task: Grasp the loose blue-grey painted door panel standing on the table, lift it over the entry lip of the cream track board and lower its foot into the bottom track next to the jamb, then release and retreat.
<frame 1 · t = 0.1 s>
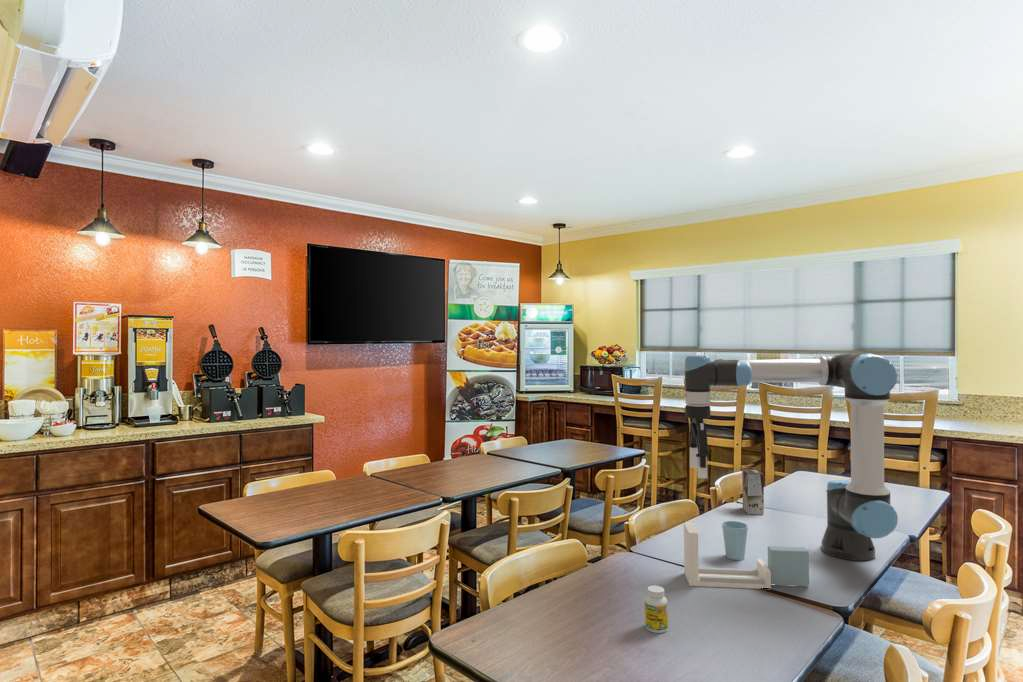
hand: (698, 472, 183), 28 cm above the table, fingers open, 13 cm apart
supplement bottle: (656, 629, 142), on the table
door panel: (788, 583, 167), on the table
track board: (726, 580, 169), on the table
coffee box: (753, 511, 235), on the table
cup: (735, 557, 187), on the table
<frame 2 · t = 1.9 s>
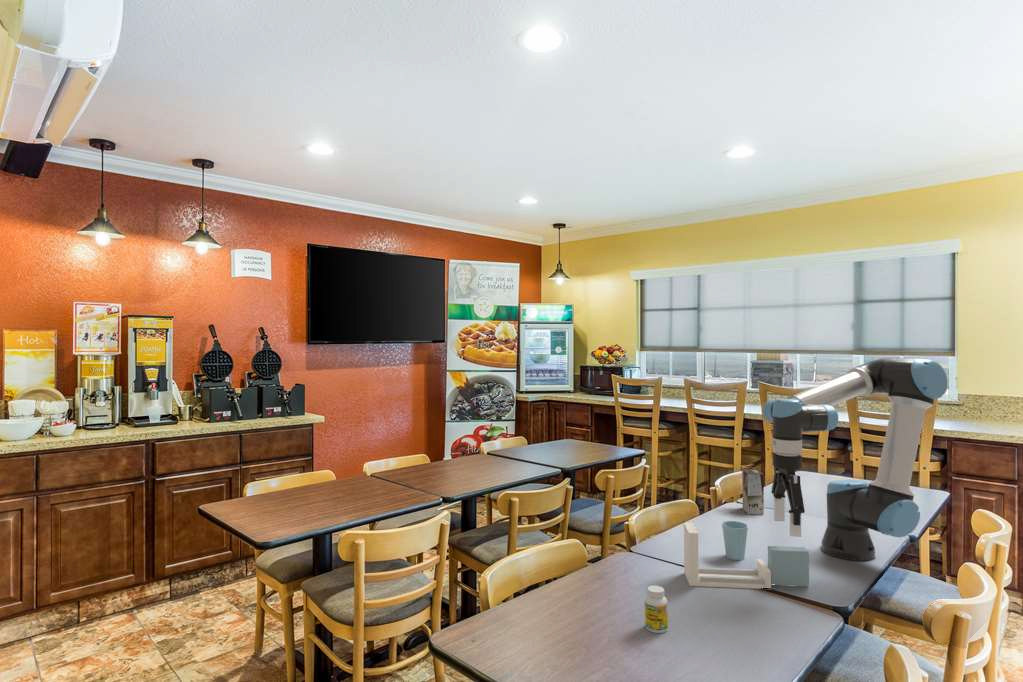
hand: (787, 528, 167), 16 cm above the table, fingers open, 13 cm apart
nothing on the table moved.
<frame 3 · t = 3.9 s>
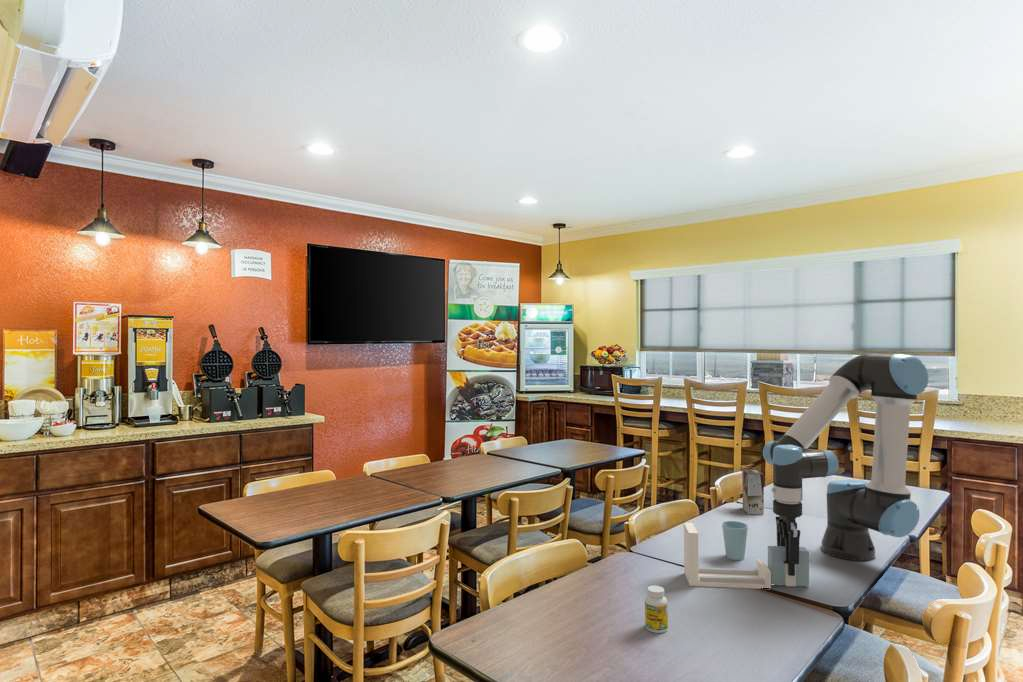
hand: (787, 582, 167), 0 cm above the table, fingers closed on door panel, 3 cm apart
door panel: (788, 583, 167), on the table, touching gripper
everything else where it was.
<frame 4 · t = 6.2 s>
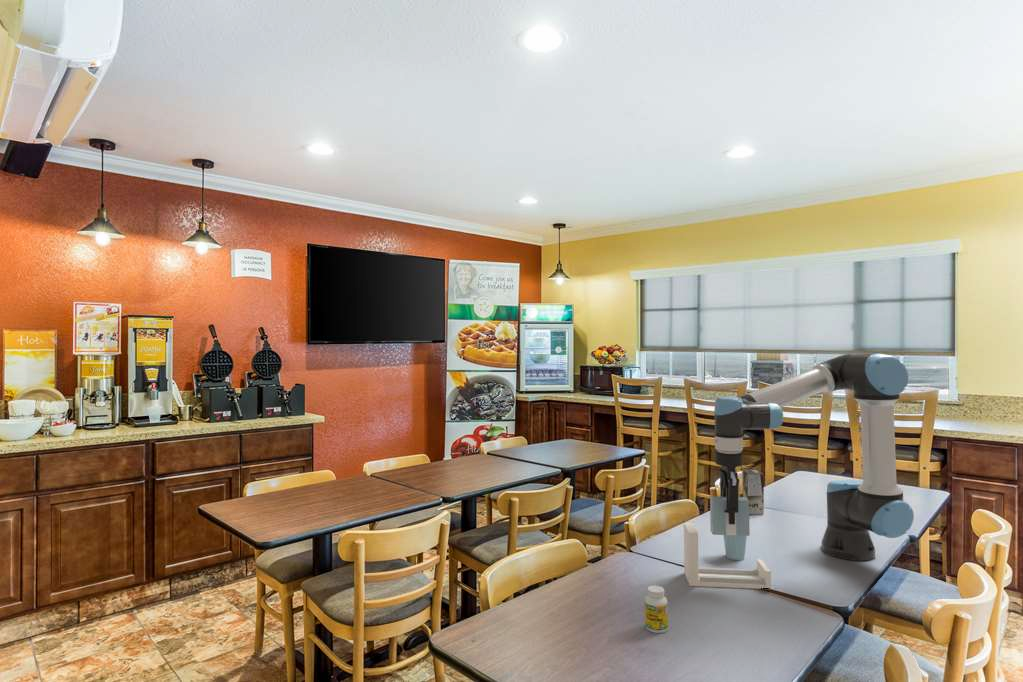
hand: (729, 532, 169), 14 cm above the table, fingers closed on door panel, 3 cm apart
door panel: (729, 533, 169), point 14 cm above the table, touching gripper
everything else where it was.
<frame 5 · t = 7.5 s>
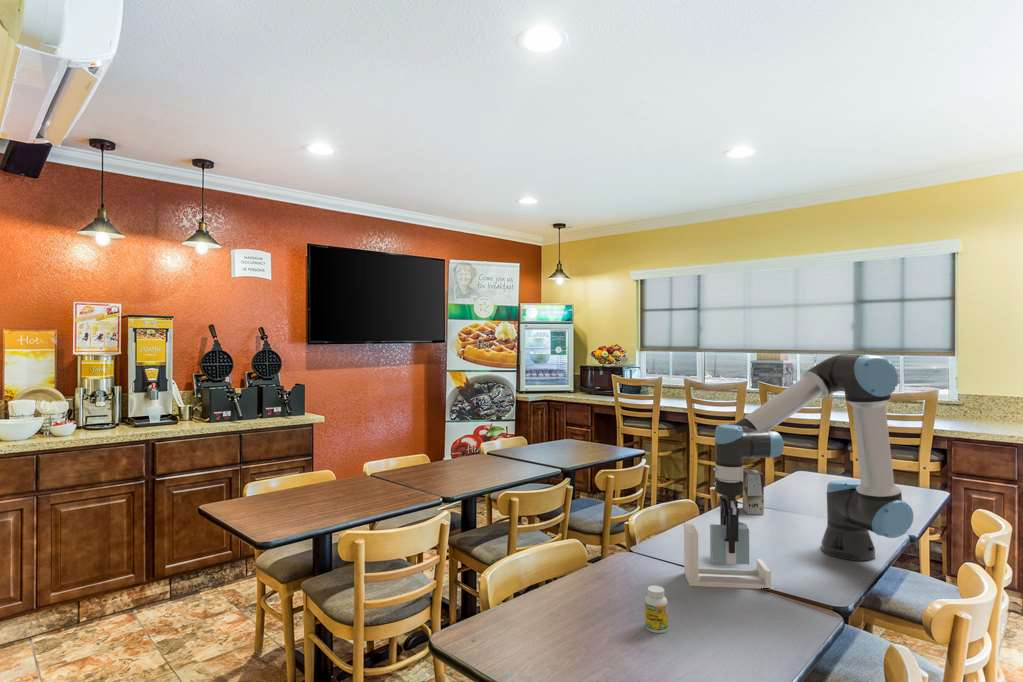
hand: (729, 560, 169), 6 cm above the table, fingers closed on door panel, 3 cm apart
door panel: (729, 561, 169), point 6 cm above the table, touching gripper
everything else where it was.
when the fingers open (3 cm above the table, at t = 8.7 s): door panel drops 2 cm, resting on track board.
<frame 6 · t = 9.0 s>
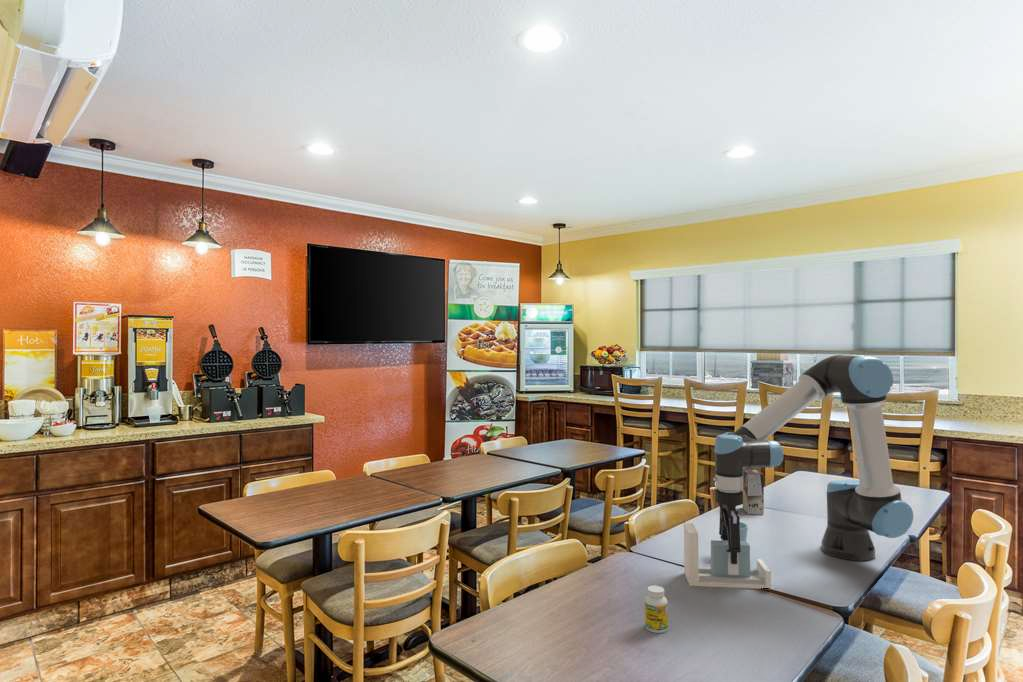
hand: (729, 568, 169), 4 cm above the table, fingers open, 8 cm apart
door panel: (730, 577, 169), point 1 cm above the table, touching track board
everything else where it was.
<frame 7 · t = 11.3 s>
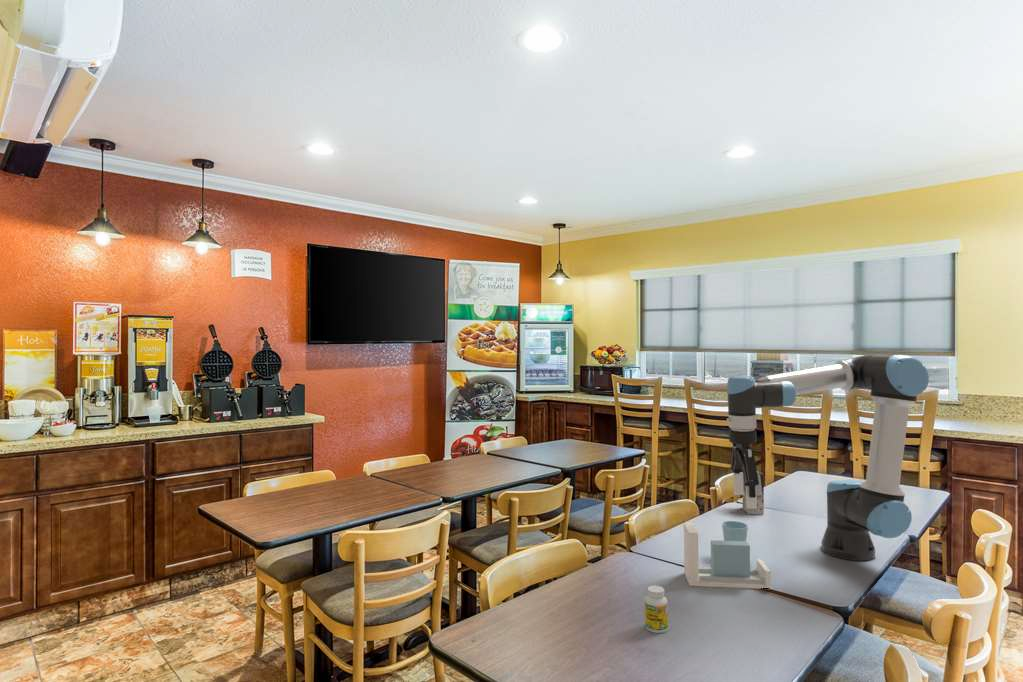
hand: (745, 501, 172), 22 cm above the table, fingers open, 13 cm apart
nothing on the table moved.
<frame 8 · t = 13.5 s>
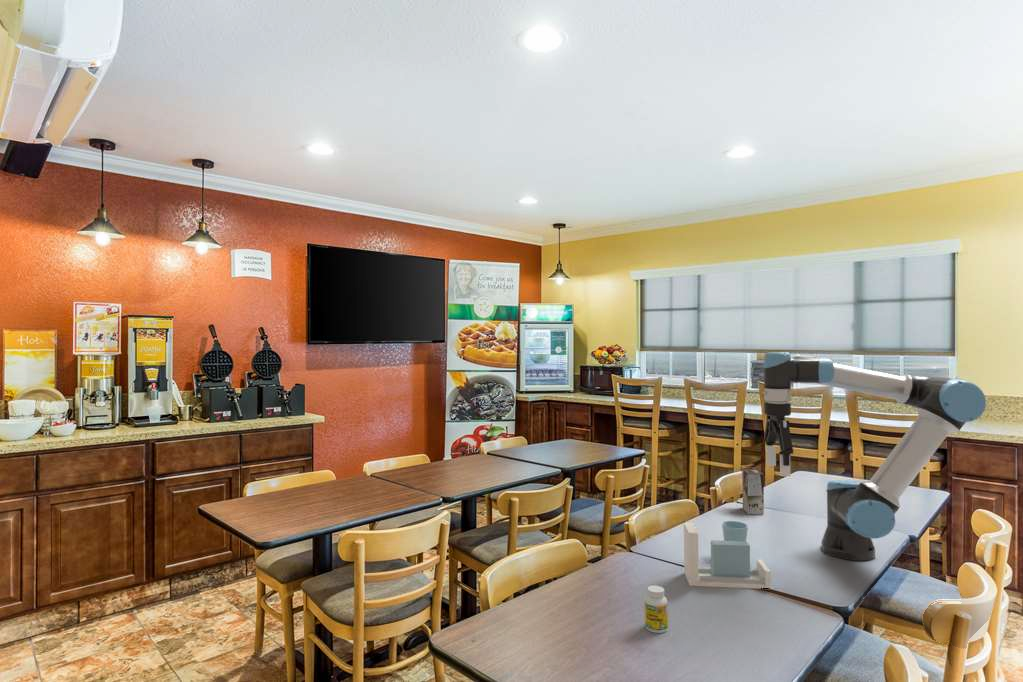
hand: (777, 470, 181), 29 cm above the table, fingers open, 13 cm apart
nothing on the table moved.
at the end: door panel inside the target area on the track board (0.4 cm from its centre), point 1.0 cm above the track board's base; door panel tilted 0°; the gripper is holding nothing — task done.
